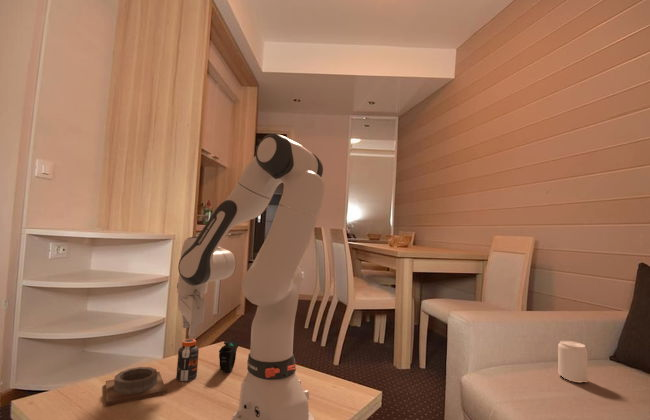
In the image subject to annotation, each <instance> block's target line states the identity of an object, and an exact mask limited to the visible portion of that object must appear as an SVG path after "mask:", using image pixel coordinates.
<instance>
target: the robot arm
mask: <svg viewBox="0 0 650 420" xmlns="http://www.w3.org/2000/svg"><path fill="white" fill-rule="evenodd" d="M323 172H324V166H323V163H322V161H321V160H320V158H319V157H318V156H317V155H316V154H315V153H313V152H311V151H310V150H308V149H307V148H305V147H304V146H303V145H302V144H300V143H298V142H296V141H294V140H292V139H290V138H288V137H286V135H285V136H284V135H281V134H278V133H269V134H267V135H265V136H264V137H263V138H262V139H261V140H260V141H259V143H258V145H257V146H256V150H255V156H253V158H252V159H251V160H250V162H249V163H247V166H246V167H245V168H244V170H243V172H242V173H241V176H240V177H239V179H238V181H237V182H236V185H235V186H234V188H233V189H232V191H231V193H230V194H229V195H228V196H227V197H226V199H224V200H223V201H222V202H221V203H220V204H219V205H218V206H217V207H216V209H215V210H214V211H213V213H212V214H211V216H210V217H209V219H208V220H207V221H206V223H205V225H204V227H203V228H202V230H201V232H200V233H199V234H198V236H190V237H187V238H186V239H185V240H184V242H183V244H182V247H181V252H180V259H179V260H178V261H179V262H178V268H177V269H178V270H177V271H178V278H177V279H178V280H177V284H176V289H177V291H176V293H177V294H178V295H177V296H178V297H177V306H178V311H180V313H181V318H182V319H181V320H182V328H183V329H188V328H189V329H188V337H190V338H194V337H196V335H197V329H198V326H199V325H203V323H204V321H205V320H204V319H205V308H206V306H205V305H206V303H205V298H204V297H203V295H206V294H207V293H208V287H209V285H208V284H209V283H210V282H216V281H219V280H220V281H221V280H226V279H228V278H231V277H232V276H233V274H234V273H235V271H236V269H237V268H236V267H237V259H236V256H235V255H234V253H233V252H232V251H231V250H229V249H227V248H226V249H225V248H223V247H221V246H220V245H221V243H222V241H223V240H224V238H225V237H226V235H227V233H228V232H229V231H231V230H232V228H234V227H236V226H238V225H239V224H242V223H244V222H248V221H250V220H254V219H256V218H258V217H259V216H261V215H262V214H263V213H264V212H265V211H266V209H267V207H268V205H269V204H270V202H271V200H272V199H273V196H274V194H275V192H276V190H277V188H278V186H279V185H280V184H282V183H283V191H282V195H281V198H280V199H279V202H278V206H277V208H276V212H275V214H274V218H273V221H272V224H271V226H270V228H269V232H268V234H267V235H266V238H265V240H264V242H263V243H262V246H261V247H260V249H259V251H258V252H257V255H256V256H255V259H254V260H253V262H252V264H251V266H250V267H249V269H248V270H247V271H246V272H245V273H244V276H243V278H242V281H241V289H242V294H243V295H244V297H245V298H246V299H247V301H249V302H250V303H251V304H253V305H256V306H257V307H256V311H255V314H254V318H253V320H252V321H251V322H252V323H251V330H250V332H251V333H250V349H249V353H248V356H247V362H246V363H247V367H246V369H247V373H246V376H245V377H244V379H243V380H242V382H241V384H240V392H239V399H238V400H239V401H238V408H237V410H236V411H235V412H233V414H232V419H231V420H316V419H315V418H314V416H313V415H312V413H311V412H310V409H309V399H310V393H309V390H308V389H303V387H302V386H303V385H302V384H301V383H302V382H301V379H299V378H298V376H297V373H296V370H297V364H296V358H295V354H294V353H293V350H294V334H295V333H294V331H295V320H296V316H297V315H296V314H297V310H298V303H299V296H300V291H301V284H302V279H303V271H302V268H301V267H300V265H299V264H300V262H301V261H302V258H303V256H304V254H305V252H306V250H307V249H308V247H309V245H310V242H311V239H312V236H313V234H314V230H315V228H316V224H317V221H318V219H319V218H318V217H319V214H320V212H321V208H322V205H323V204H322V203H323V200H324V194H325V188H326V186H325V181H324V180H323V178H322V176H323Z"/></svg>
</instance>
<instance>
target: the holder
mask: <svg viewBox="0 0 650 420" xmlns="http://www.w3.org/2000/svg"><path fill="white" fill-rule="evenodd" d="M166 394H167V388H166V385H165V383H164V381H163V378H162V375H161V372H160V371H157V369H156V368H153V367H151V366H138V367H133V368H128V369H124V370H122V371H119V373H117V374H116V375H114V379H109V380H108V379H107V380H106V381H105V405H106V406H105V407H109V406H114V405H115V406H116V405H118V404H122V403H128V402H134V401H137V400H142V399H146V398H147V399H148V398H152V397H157V396H161V395H166Z"/></svg>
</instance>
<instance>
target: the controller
mask: <svg viewBox="0 0 650 420" xmlns="http://www.w3.org/2000/svg"><path fill="white" fill-rule="evenodd" d="M223 344H224V345H223V346H222V347H221V348H220V349H219V350H218V353H219V354H218V358H219V369H220V371H221V372H223V373H229V372H231V371H233V369H234V366H235V362H236V358H237V350H238V348H239V345H240V343H239V340H233V339H230V340H227V341H226V340H225V341H224V342H223Z"/></svg>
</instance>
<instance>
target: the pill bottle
mask: <svg viewBox="0 0 650 420" xmlns="http://www.w3.org/2000/svg"><path fill="white" fill-rule="evenodd" d="M177 351H178V352H177V353H178V354H177V363H176V365H177V366H176V375H175V376H176V377H175V379H176V380H177V381H180V382H189V381H190V382H191V381H192V380H195V378H197V376H198V365H199V351H200V349H199V347H198V346H197V340H196V339H195V338H185V339H183V340H182V343H181V346H180V347H179V349H178V350H177Z"/></svg>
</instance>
